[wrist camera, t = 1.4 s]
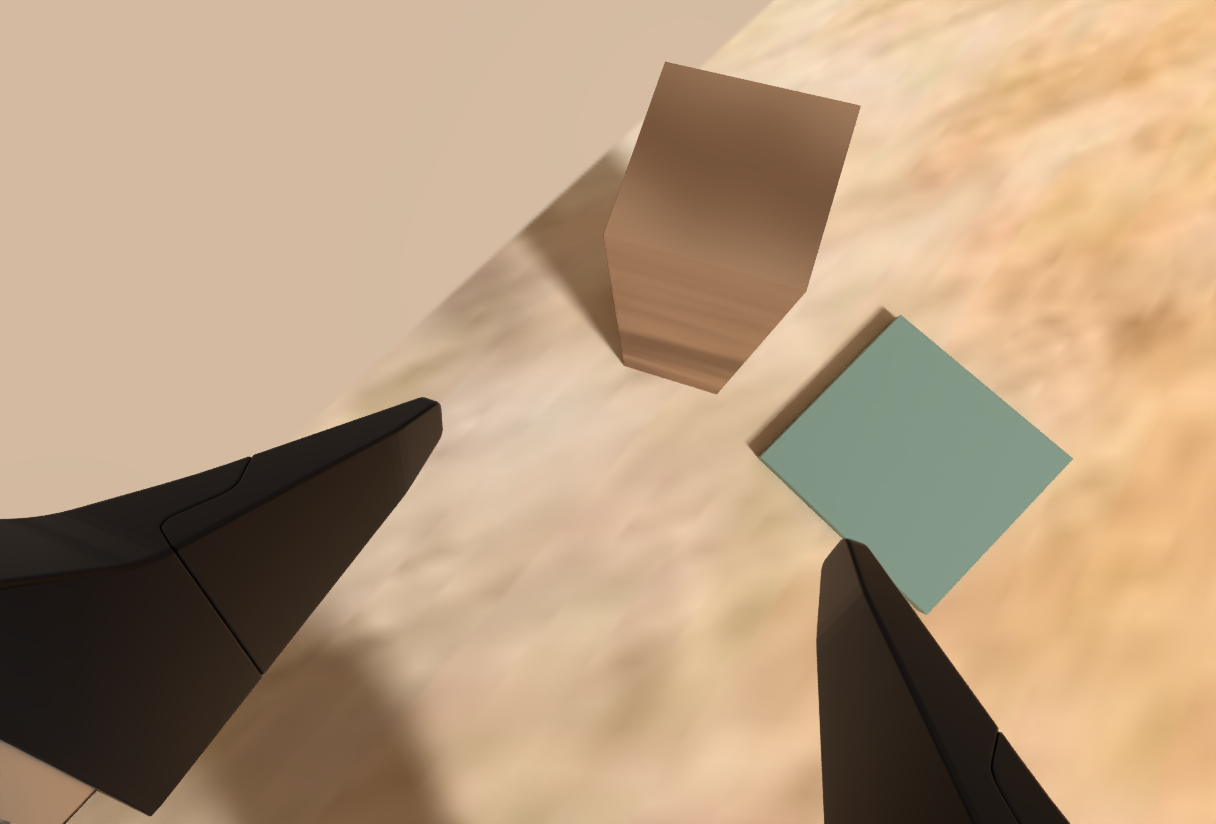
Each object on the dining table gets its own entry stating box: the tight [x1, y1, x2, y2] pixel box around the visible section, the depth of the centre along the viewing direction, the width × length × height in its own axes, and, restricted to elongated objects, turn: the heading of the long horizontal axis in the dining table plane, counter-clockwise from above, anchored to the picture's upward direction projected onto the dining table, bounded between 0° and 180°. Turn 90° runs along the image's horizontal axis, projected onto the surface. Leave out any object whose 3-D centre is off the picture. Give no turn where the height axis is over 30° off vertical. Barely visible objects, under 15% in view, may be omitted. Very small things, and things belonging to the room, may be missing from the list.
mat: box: [758, 315, 1073, 615], centre depth 22 cm, size 10×10×1 cm
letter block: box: [603, 62, 861, 394], centre depth 18 cm, size 5×5×13 cm
